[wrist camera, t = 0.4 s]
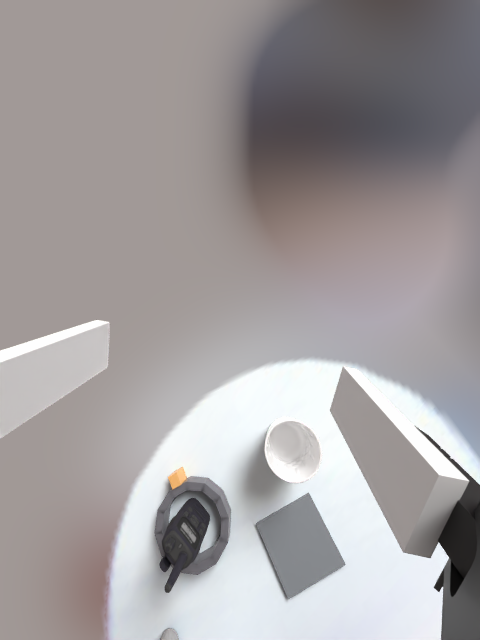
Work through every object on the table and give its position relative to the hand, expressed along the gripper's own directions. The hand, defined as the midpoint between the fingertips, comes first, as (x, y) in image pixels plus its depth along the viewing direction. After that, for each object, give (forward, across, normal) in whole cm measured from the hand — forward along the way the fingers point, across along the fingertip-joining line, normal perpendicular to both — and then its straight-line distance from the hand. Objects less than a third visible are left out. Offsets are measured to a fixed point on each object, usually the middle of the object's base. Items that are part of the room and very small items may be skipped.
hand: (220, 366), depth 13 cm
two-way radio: (+18, +2, +37) cm, 41 cm away
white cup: (+24, -12, +23) cm, 35 cm away
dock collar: (+18, +2, +36) cm, 41 cm away
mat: (+16, -16, +35) cm, 42 cm away
